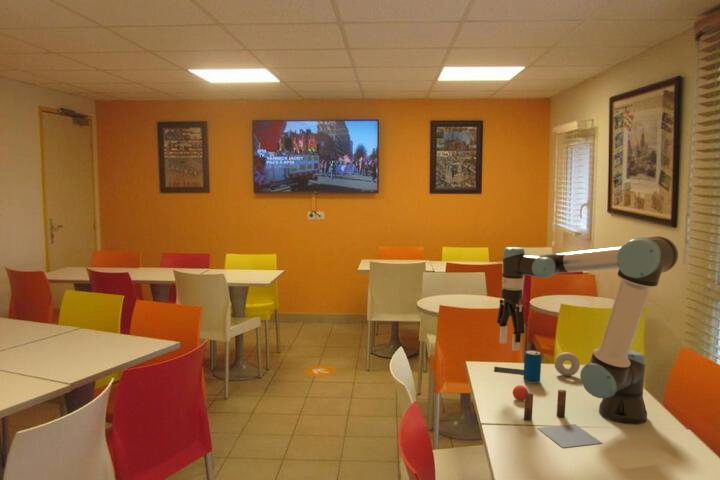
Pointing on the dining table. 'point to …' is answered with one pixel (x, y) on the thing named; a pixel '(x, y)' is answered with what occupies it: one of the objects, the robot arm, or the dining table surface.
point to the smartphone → (509, 370)
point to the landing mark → (569, 436)
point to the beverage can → (532, 366)
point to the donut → (570, 357)
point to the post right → (561, 403)
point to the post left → (528, 406)
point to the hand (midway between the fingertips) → (509, 346)
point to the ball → (519, 392)
